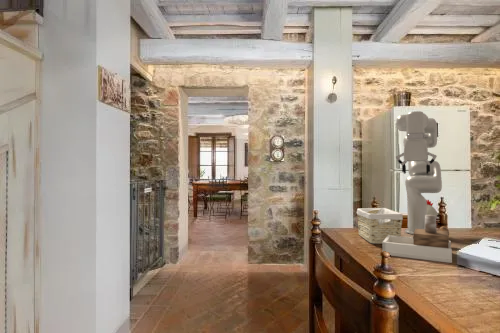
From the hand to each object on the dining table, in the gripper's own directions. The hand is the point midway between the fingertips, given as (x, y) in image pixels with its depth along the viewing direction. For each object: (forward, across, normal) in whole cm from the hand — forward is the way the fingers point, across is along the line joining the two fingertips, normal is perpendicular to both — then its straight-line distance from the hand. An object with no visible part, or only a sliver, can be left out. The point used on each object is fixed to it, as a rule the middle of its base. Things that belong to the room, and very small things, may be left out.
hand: (415, 173), depth 151 cm
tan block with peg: (+32, -6, +20) cm, 38 cm away
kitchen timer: (+34, -2, -66) cm, 74 cm away
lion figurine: (+34, -8, +4) cm, 35 cm away
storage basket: (+34, +17, -1) cm, 38 cm away
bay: (+33, -1, +20) cm, 39 cm away
